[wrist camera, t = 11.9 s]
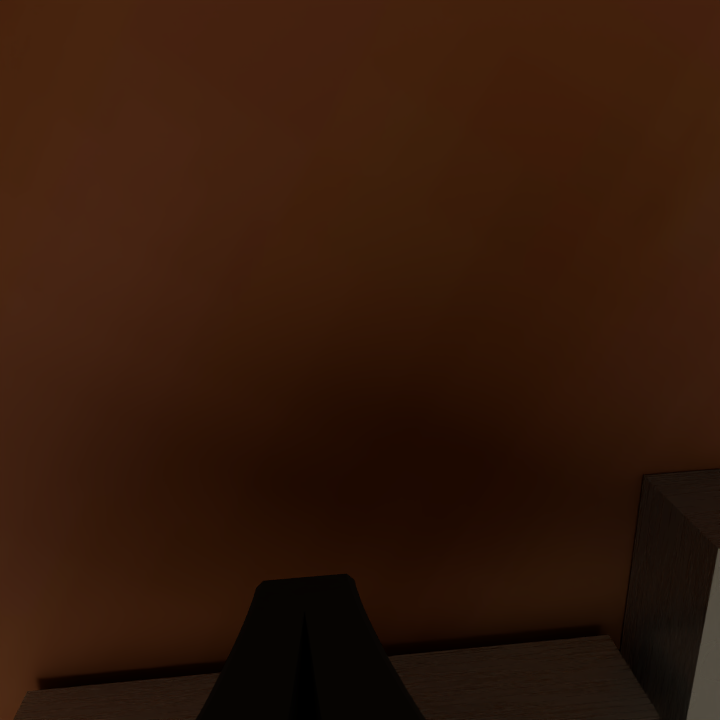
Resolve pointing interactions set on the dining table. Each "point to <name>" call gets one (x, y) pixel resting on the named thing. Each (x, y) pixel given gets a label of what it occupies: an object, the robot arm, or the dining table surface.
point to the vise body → (676, 595)
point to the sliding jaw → (411, 687)
